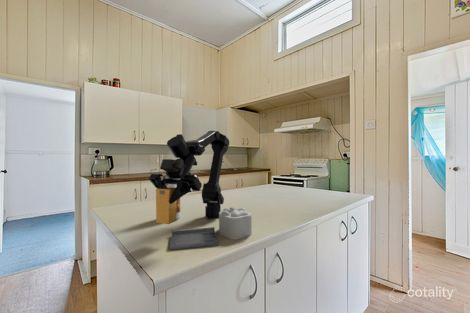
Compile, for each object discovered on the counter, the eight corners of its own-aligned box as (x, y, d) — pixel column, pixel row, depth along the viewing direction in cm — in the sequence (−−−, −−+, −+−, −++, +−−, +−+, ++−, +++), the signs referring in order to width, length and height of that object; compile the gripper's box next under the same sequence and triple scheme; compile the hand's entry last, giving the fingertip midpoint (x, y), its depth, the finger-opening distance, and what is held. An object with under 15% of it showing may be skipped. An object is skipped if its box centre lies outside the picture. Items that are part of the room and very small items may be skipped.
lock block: (164, 219, 76) (164, 187, 76) (176, 220, 74) (176, 187, 74) (156, 222, 72) (155, 188, 72) (168, 224, 70) (168, 189, 70)
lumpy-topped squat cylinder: (231, 240, 74) (231, 214, 74) (212, 230, 85) (212, 207, 85) (255, 234, 80) (255, 210, 80) (235, 225, 91) (234, 204, 91)
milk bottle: (164, 221, 96) (164, 175, 96) (161, 217, 103) (161, 174, 103) (182, 219, 100) (181, 174, 100) (178, 215, 107) (177, 173, 107)
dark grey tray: (214, 232, 82) (214, 227, 82) (218, 245, 70) (218, 239, 70) (172, 236, 78) (172, 230, 78) (169, 250, 67) (169, 243, 67)
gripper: (152, 151, 80) (127, 185, 70) (196, 150, 73) (176, 188, 63) (166, 171, 87) (146, 205, 77) (208, 172, 80) (192, 210, 70)
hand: (163, 202), depth 72 cm, fingers closed on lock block, 5 cm apart
